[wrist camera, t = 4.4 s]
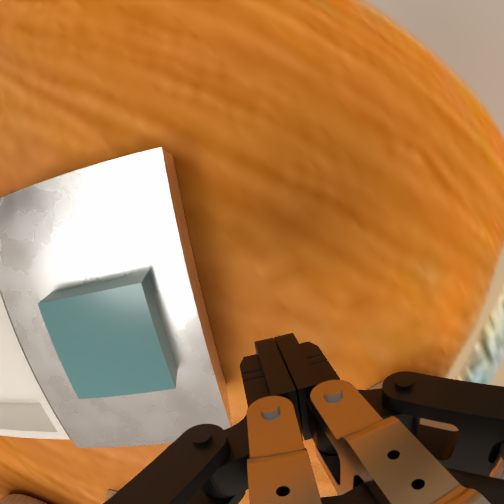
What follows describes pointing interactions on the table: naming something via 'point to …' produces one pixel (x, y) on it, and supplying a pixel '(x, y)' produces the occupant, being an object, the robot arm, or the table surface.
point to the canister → (20, 499)
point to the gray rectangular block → (104, 268)
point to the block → (110, 337)
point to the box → (22, 390)
